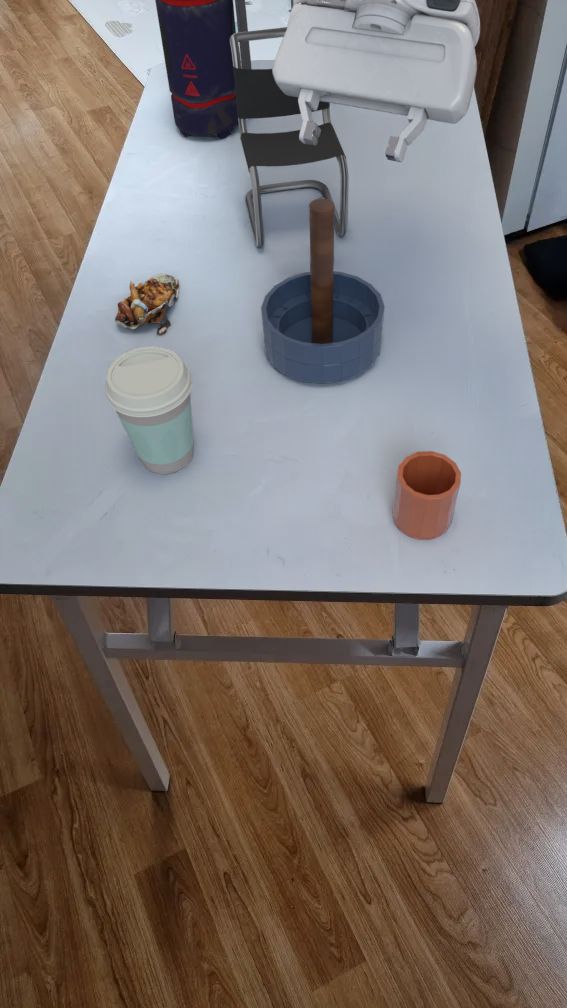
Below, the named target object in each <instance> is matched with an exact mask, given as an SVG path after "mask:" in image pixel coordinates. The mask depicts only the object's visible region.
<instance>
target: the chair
mask: <svg viewBox="0 0 567 1008" xmlns="http://www.w3.org/2000/svg"><path fill="white" fill-rule="evenodd" d="M286 30H287V26H284V27H276V28H275V27H274V28H266V29H258V30H257V29H256V30H248V31H247V32H238V31H237V32H236V33H235V34H233V35H232V36H231V37H230V45H231V51H232V59H233V71H234V82H235V93H236V104H237V115H238V122H239V124H238V129H239V135H240V137H239V138H240V142H241V146H242V150H243V154H244V159H245V162H246V166H247V171H248V173H249V178H250V184H251V185H250V186H251V189H249V190H248V192H246V194H245V199H244V200H245V204H246V209H247V212H248V218H249V222H250V226H251V230H252V234H253V239H254V242H255V243H254V244H255V245H256V247H257V248H263V247H264V245H265V235H264V224H263V223H264V221H263V209H262V208H263V207H262V196H261V195H262V194H263V193H271V192H280V191H289V190H295V189H304V188H314V189H317V190H319V191H321V193H322V196H323V199H329V200H331V201H333V202H334V200H333V198H332V195H331V192H330V189H329V187H328V186H327V185H326V184H325V183H324V182H322V181H320V180H316V179H302V180H301V179H300V180H293V181H285V182H278V183H277V182H276V183H270V184H262V185H260V184H261V183H260V178H259V176H260V175H259V172H258V167H266V168H267V167H268V168H269V167H288V166H300V165H304V164H312V163H317V162H321V161H325V160H329V159H330V160H331V159H332V158H336V161H337V163H338V167H339V178H340V181H339V182H340V183H339V184H340V185H339V186H340V188H339V190H340V191H339V192H340V193H339V214H338V210H337V208H336V207H335V208H334V230H335V232H336V234H337V236H338V237H340V238H344V237H345V236H346V234H347V231H348V219H349V218H348V217H349V216H348V214H349V167H348V162H347V156H346V153H345V151H344V149H343V147H342V144H341V142H340V140H339V137H338V135H337V133H336V130H335V128H334V125H333V124H332V120H331V119H332V118H331V110H330V107H331V103H328V102H323V101H319V104H318V108H317V110H316V111H313V110H311V112H312V113H314V112H318V111H321V115H322V121H323V123H321V124H317V125H318V127H320V129H321V133H320V136H319V137H318V143H317V145H316V146H313V145H308V144H303V143H302V142H301V141H300V139H299V134H300V130H301V129H296V130H291V131H284V132H283V131H282V132H264V133H263V132H261V133H260V132H248V126H247V120H252V119H253V120H254V119H255V120H256V119H257V120H258V119H271V118H280V117H289V116H297V115H301V112H300V107H299V103H298V98H299V97H293V96H288V95H286V94H284V93H283V91H282V90H281V89H280V88H279V86H278V85H277V83H276V82H275V79H274V76H273V73H272V69H273V68H261V69H260V68H255V69H254V68H253V69H242V64H241V55H240V45H239V42H244V41H249V42H253V41H261V40H268V39H279V38H283V37H284V35H285V32H286Z"/></svg>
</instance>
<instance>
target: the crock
mask: <svg viewBox="0 0 567 1008" xmlns="http://www.w3.org/2000/svg"><path fill="white" fill-rule="evenodd" d="M395 483H396V484H395V491H394V498H393V507H392V520H393V523H394V524H395V526H396V527H397V529H398V530H399V531H400V532H401V533H403V534H404V535H406V536H407V537H410V538H413V539H415V540H423V541H424V540H425V541H426V540H433V539H436V538H438V537H440V536H443V534H445V533H446V532H447V531H448V529H449V528H450V526H451V524H452V521H453V518H454V514H455V509H456V505H457V500H458V496H459V492H460V488H461V483H462V472H461V470H460V468H459V467H458V465H457V463H456V462H455V461H454V460H453V459H452V458H450V457H449V456H447V455H445V454H444V453H439V452H436V451H432V450H428V451H427V450H426V451H417V452H414V453H412V454H410V455H407V456H405V458H403V460H402V461H401V462H400V464H398V468H397V475H396V482H395Z"/></svg>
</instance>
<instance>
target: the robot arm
mask: <svg viewBox="0 0 567 1008" xmlns="http://www.w3.org/2000/svg"><path fill="white" fill-rule="evenodd" d="M478 9H479V8H478V6H477V3H476V0H299V1H298V2H297V3H295V4H294V5H293V6H292V8H291V10H290V13H289V17H288V21H287V25H286V27H287V30H286V32H285V35H284V37H282V40H281V42H280V44H279V47H278V50H277V53H276V56H275V58H274V62H273V64H272V65H273V66H272V68H271V69H272V73H273V76H274V79H275V82H276V83H277V85H278V86H279V88H280V89H281V90H282V91H283V93H284V94H286V95H288V96H293V97H299V98H298V103H299V107H300V112H301V114H300V117H301V120H302V123H301V127H300V129H299V130H300V134H299V139H300V141H301V142H302V143H303V144H308V145H313V146H316V145H317V143H318V137H319V136H320V133H321V129H320V127H318V125H319V124H318V123H317V122H316V121H315V122H314V117H313V112H311V110H313V111H314V112H317V111H316V110H317V108H318V104H319V101H323V102H328V103H330V104H334V105H341V106H347V107H353V108H358V109H363V110H370V111H376V112H380V113H381V112H382V113H387V114H394V115H399V116H404V117H405V116H406V118H407V121H408V123H409V124H408V125H407V126H406V127H405V128H404V129H403V131H402V132H401V133H400V134H399V135H398V136H393V135H390V136H389V139H388V146H387V147H386V149H385V158H386V159H387V160H388V161H391V162H396V163H403V162H404V159H405V155H406V152H407V149H408V147H409V146H410V145H411V144H412V143H413V142H414V141H415V140H416V139H417V138H418V137H419V136H420V135H421V134H422V133H423V132H424V131H425V127H426V125H427V121H435V122H439V123H444V124H450V125H455V124H457V123H459V122H460V121H462V119H463V118H464V117H466V115H467V113H468V111H469V108H470V104H471V101H472V97H473V93H474V89H475V88H474V87H475V82H476V77H477V70H478V60H477V54H476V53H477V52H476V48H475V47H476V46H477V44H478V41H479V40H480V35H481V19H480V13H479V10H478Z"/></svg>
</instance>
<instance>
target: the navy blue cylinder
mask: <svg viewBox="0 0 567 1008" xmlns="http://www.w3.org/2000/svg"><path fill="white" fill-rule="evenodd" d="M154 2H155V7H156V14H157V20H158V26H159V32H160V39H161V46H162V51H163V59H164V65H165V71H166V76H167V83H168V88H169V89H168V90H169V92H170V93H171V94H170V101H171V106H172V112H173V113H172V114H173V120H174V124H175V126H176V128H177V129H178V130H179V132H180V134H181V135H182V136H183V137H184V138H188V137H190V135H192V136H196V137H212V136H215V138H216V139H217V140H222V139H226V138H227V137H229V136H231V135H232V130H233V129H234V128H236V127H237V126H239V122H238V115H237V104H236V93H235V82H234V71H233V59H232V51H231V45H230V37H231V36H232V35H233V34H235V33H238V32H247V31H249V29H248V18H247V17H248V16H247V5H246V0H154ZM234 6H235V7H234ZM235 15H236V19H235ZM236 25H237V29H236ZM238 44H239V50H240V57H241V66H242V69H252V68H253V67H252V59H251V58H252V57H251V47H250V41H244V42H238Z"/></svg>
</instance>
